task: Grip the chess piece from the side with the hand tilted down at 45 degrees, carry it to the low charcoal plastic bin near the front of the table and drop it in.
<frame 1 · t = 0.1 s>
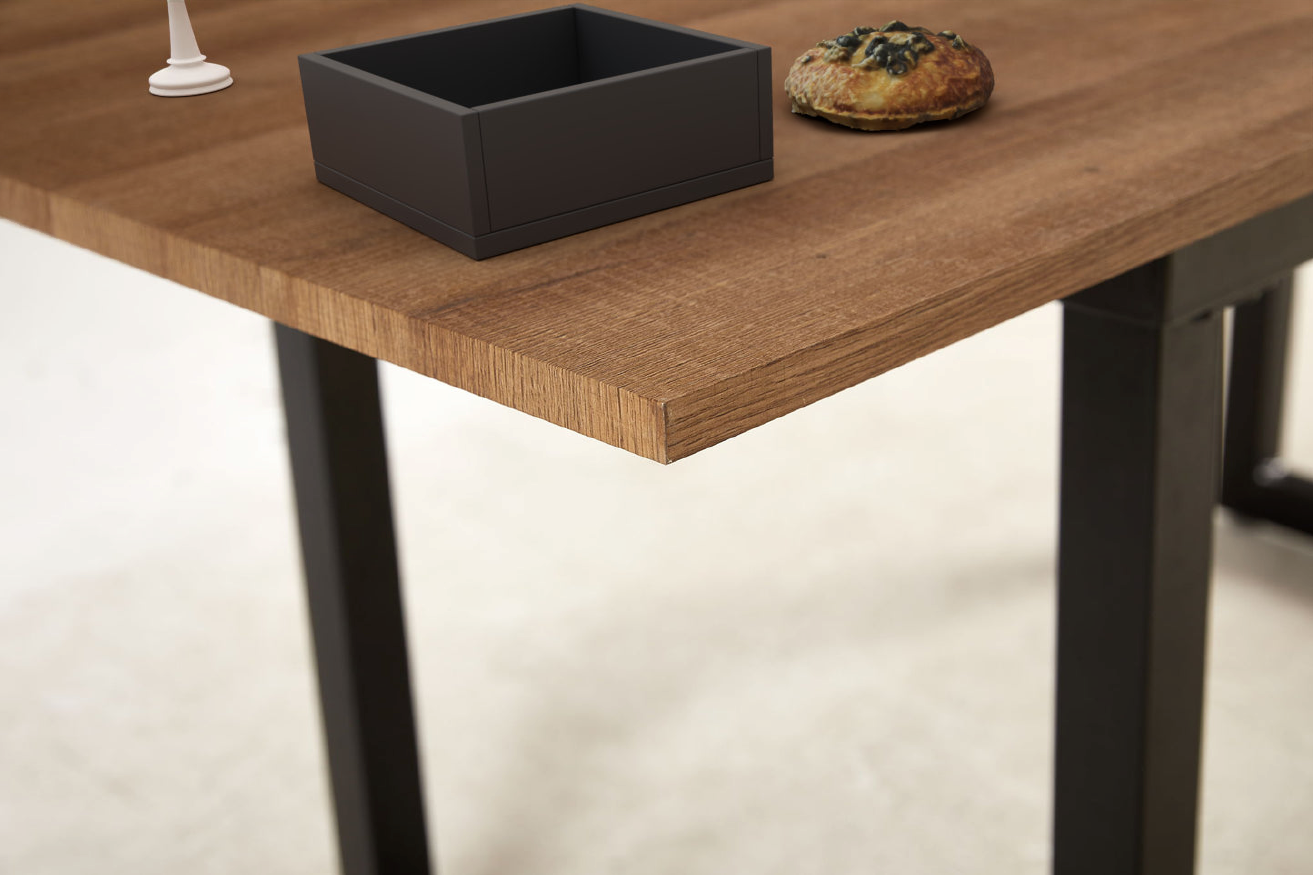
bread roll: (884, 109, 81), on the table
chess piece: (192, 89, 94), on the table
bin: (539, 179, 73), on the table
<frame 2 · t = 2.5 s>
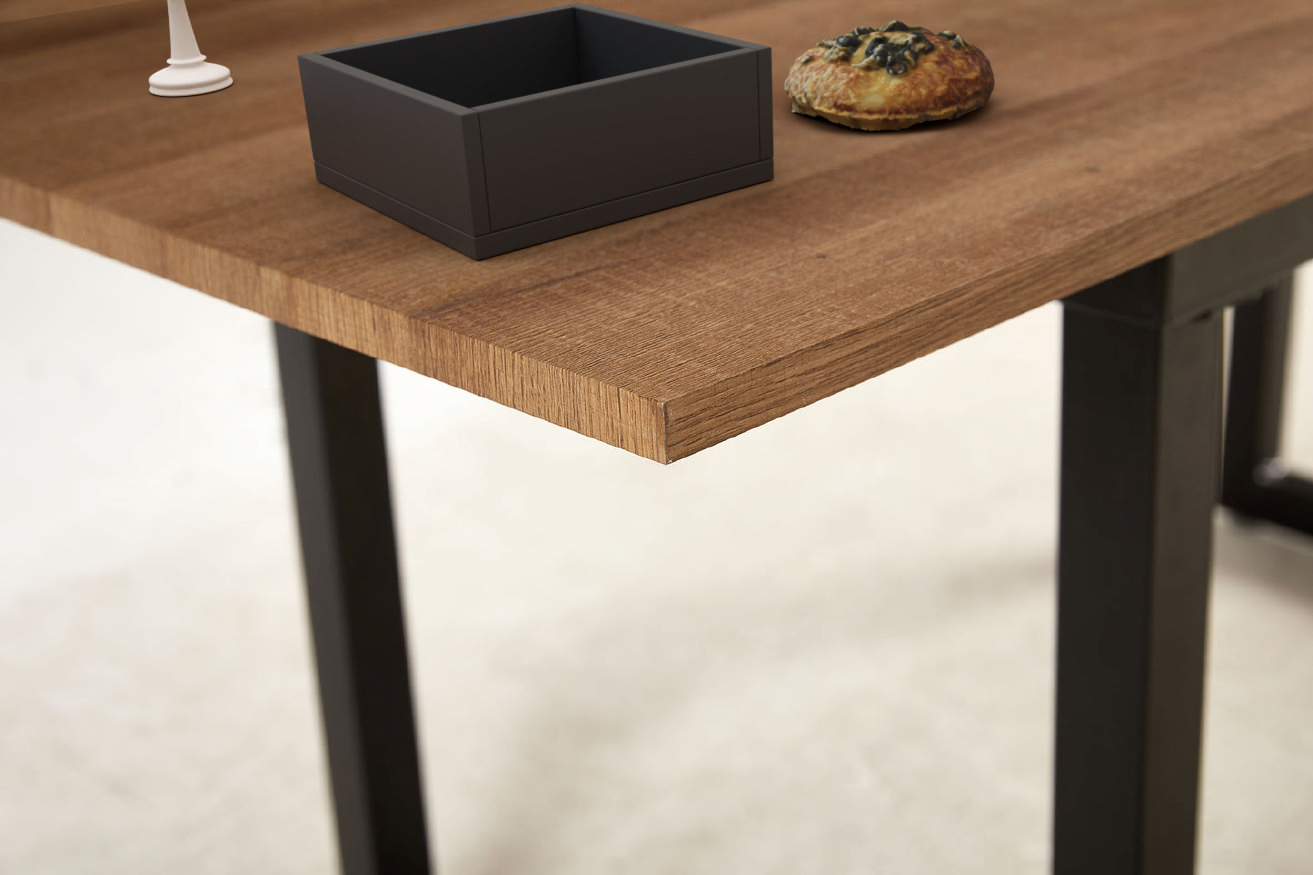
nothing on the table moved.
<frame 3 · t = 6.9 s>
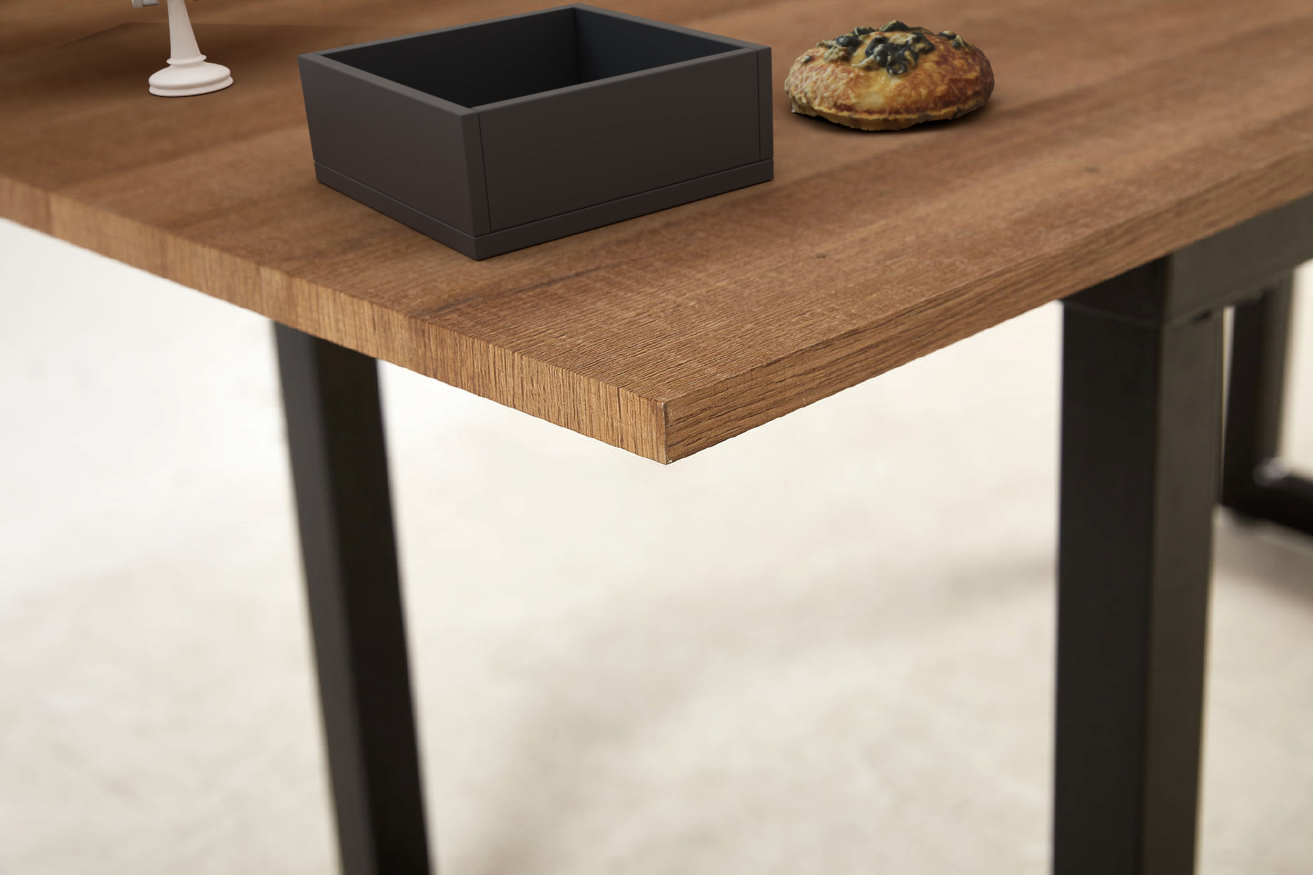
chess piece: (192, 89, 94), on the table, touching gripper
everything else where it was.
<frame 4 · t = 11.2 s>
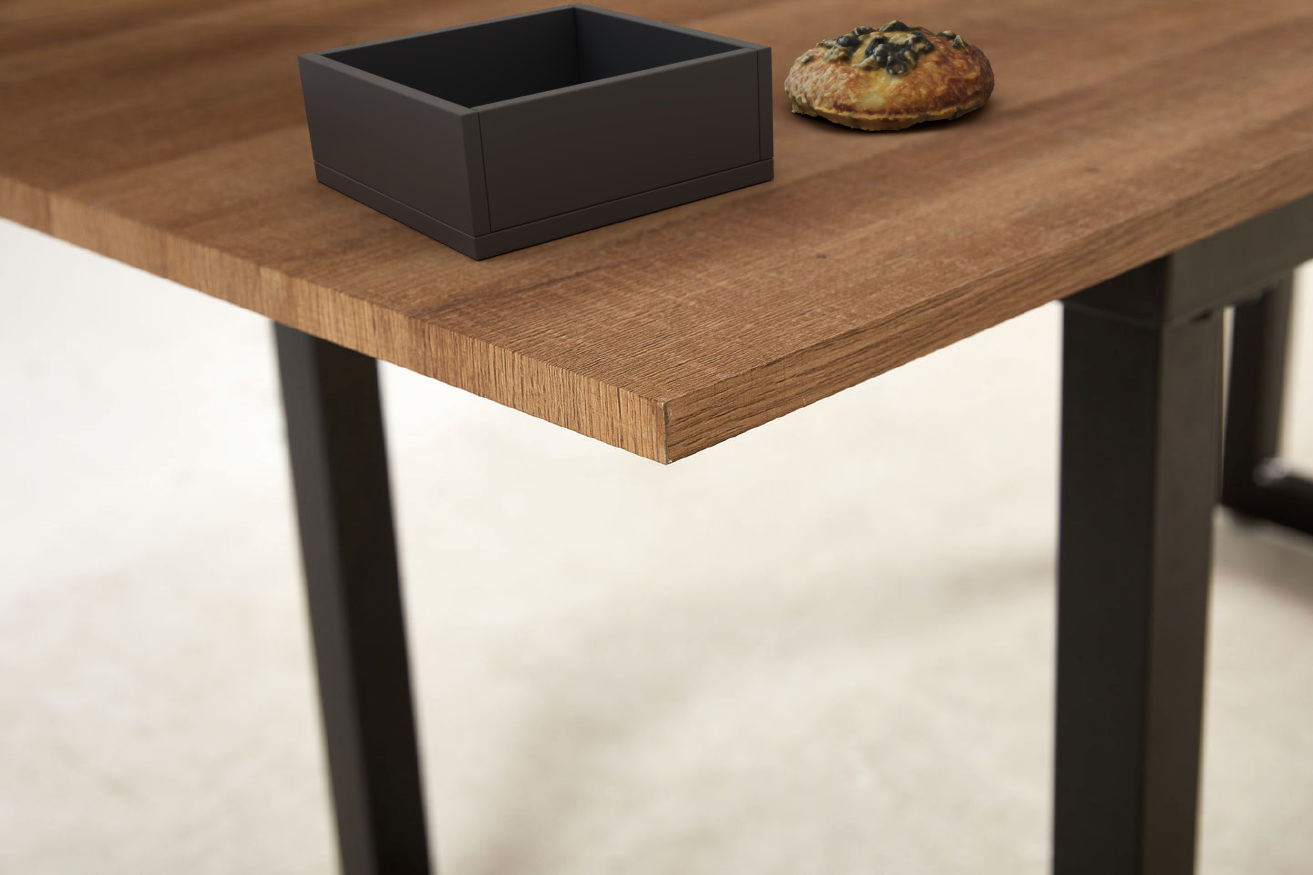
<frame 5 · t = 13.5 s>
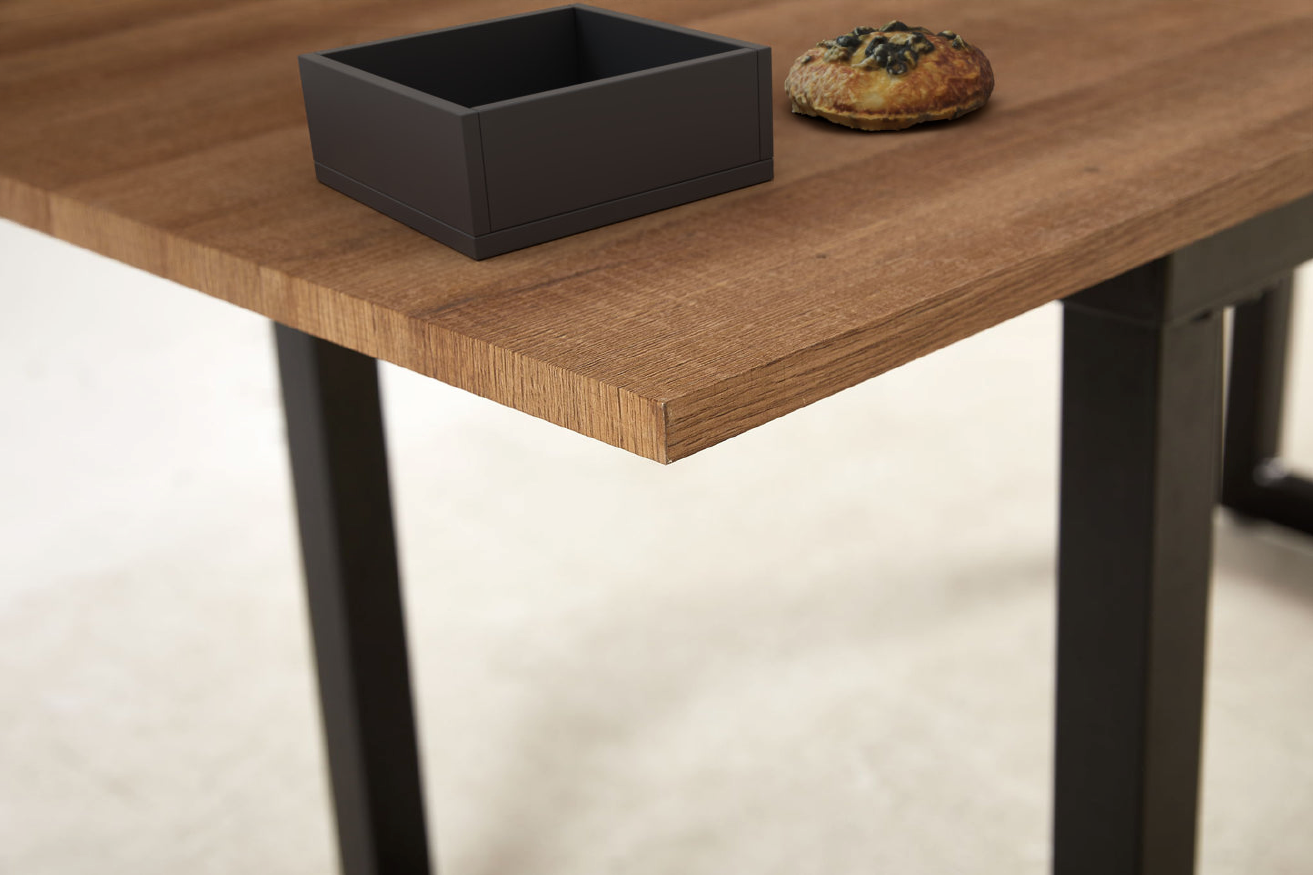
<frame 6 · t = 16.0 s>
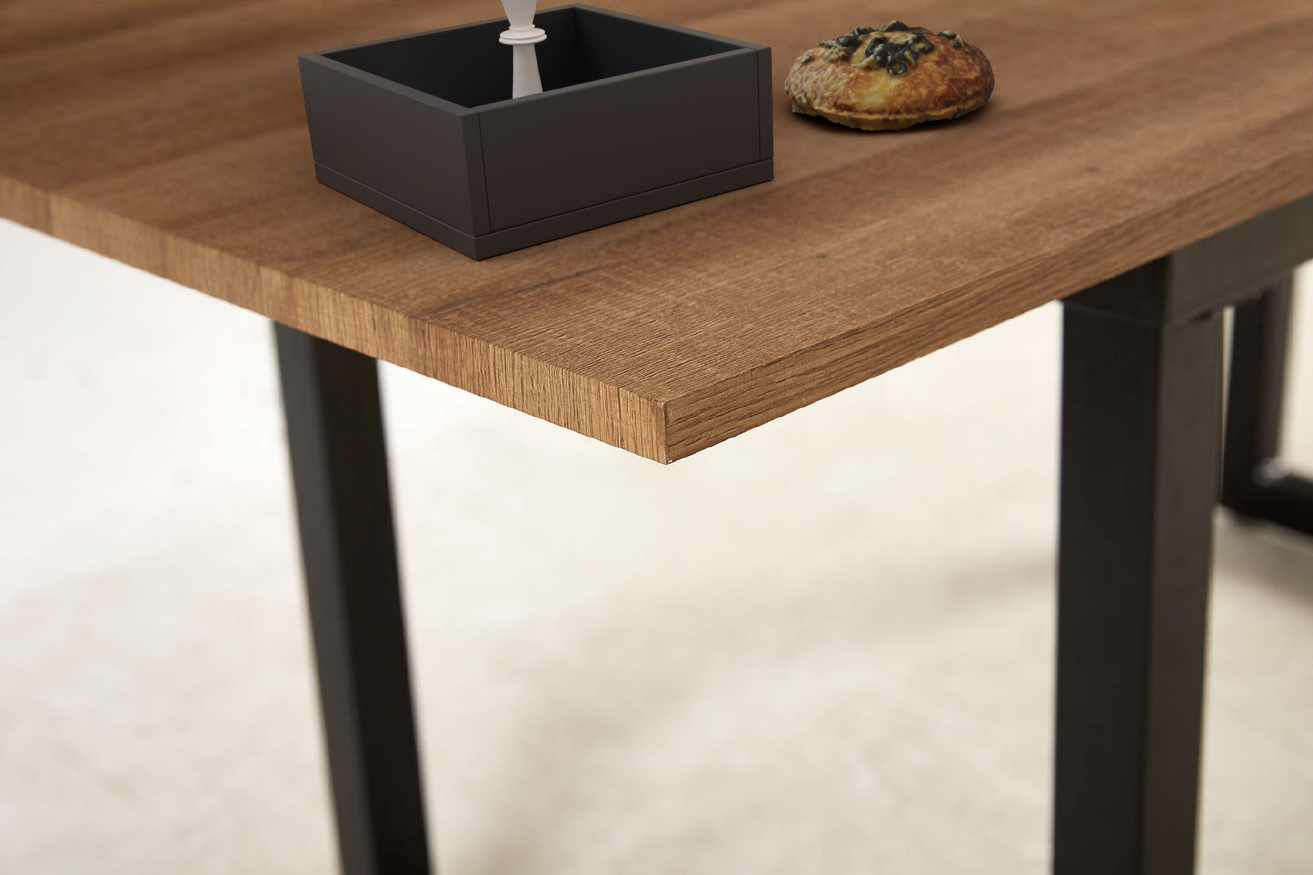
chess piece: (534, 163, 72), point 1 cm above the table, touching bin
everything else where it was.
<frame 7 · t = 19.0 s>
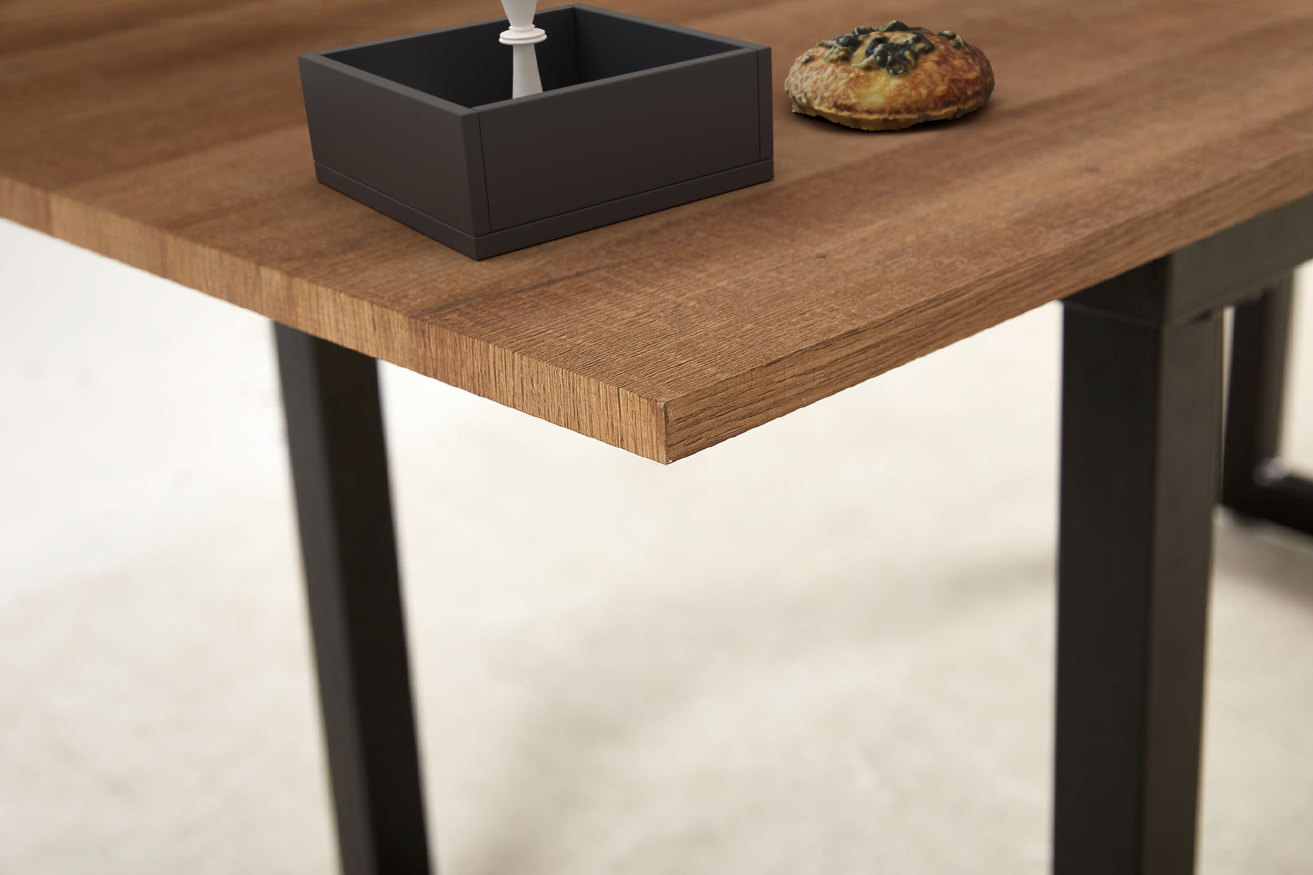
nothing on the table moved.
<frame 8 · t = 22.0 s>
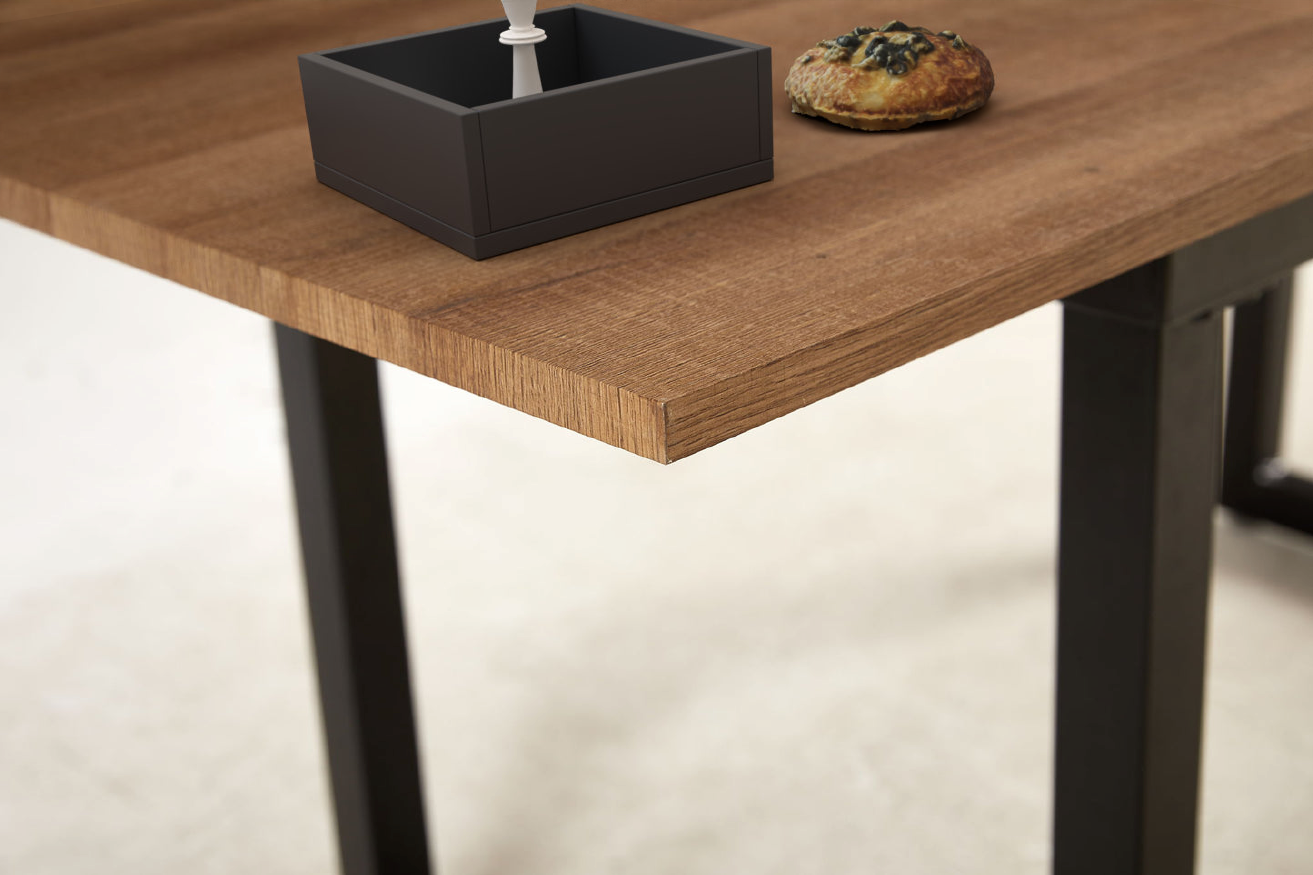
nothing on the table moved.
at the end: chess piece inside the target area in the bin (0.1 cm from its centre), point 0.8 cm above the bin's base; the gripper is holding nothing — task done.
